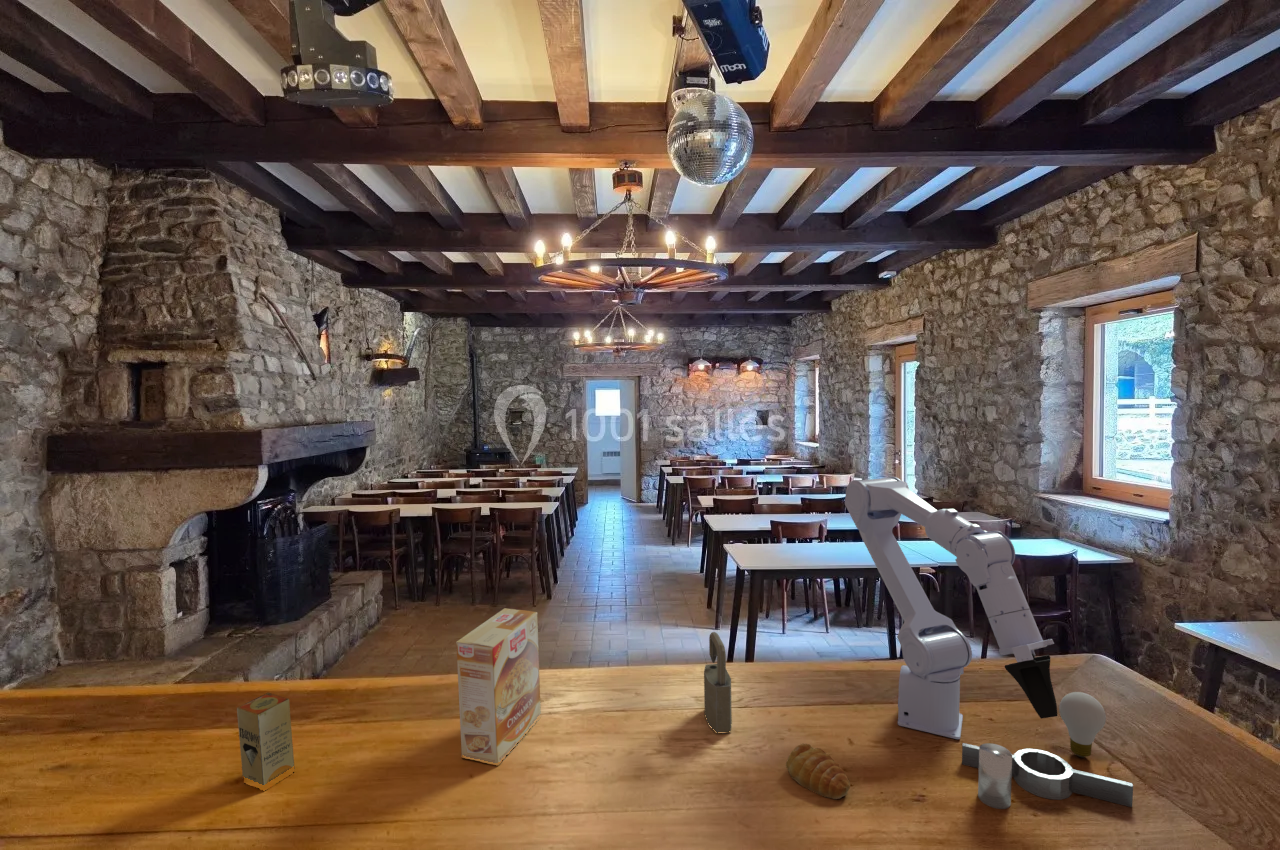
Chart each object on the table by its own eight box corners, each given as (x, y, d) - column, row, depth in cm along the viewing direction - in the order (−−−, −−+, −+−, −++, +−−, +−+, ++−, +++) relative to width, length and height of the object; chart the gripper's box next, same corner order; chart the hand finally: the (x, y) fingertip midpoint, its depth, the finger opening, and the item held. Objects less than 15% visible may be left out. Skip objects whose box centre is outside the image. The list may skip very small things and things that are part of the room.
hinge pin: (977, 803, 89) (978, 755, 89) (978, 786, 93) (979, 740, 92) (1010, 812, 87) (1012, 763, 87) (1010, 795, 91) (1012, 748, 90)
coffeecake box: (498, 767, 100) (493, 646, 98) (459, 759, 102) (453, 641, 101) (543, 717, 114) (539, 610, 112) (508, 711, 116) (503, 606, 115)
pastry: (861, 791, 93) (861, 766, 92) (829, 809, 89) (829, 783, 89) (812, 758, 101) (811, 735, 100) (780, 774, 97) (780, 750, 97)
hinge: (960, 775, 95) (961, 756, 95) (963, 750, 101) (963, 732, 101) (1136, 821, 85) (1137, 800, 85) (1127, 790, 91) (1128, 770, 91)
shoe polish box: (274, 764, 102) (268, 692, 101) (294, 772, 100) (288, 698, 99) (243, 783, 98) (236, 707, 97) (264, 791, 96) (257, 714, 94)
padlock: (723, 707, 116) (722, 626, 115) (735, 732, 108) (734, 646, 106) (701, 709, 115) (700, 628, 114) (712, 734, 107) (710, 648, 106)
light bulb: (1111, 770, 96) (1114, 705, 95) (1067, 766, 97) (1070, 702, 96) (1092, 746, 101) (1095, 686, 101) (1051, 743, 103) (1053, 683, 102)
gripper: (1037, 605, 86) (1084, 715, 81) (1039, 608, 98) (1079, 703, 93) (982, 618, 89) (1023, 724, 84) (990, 619, 101) (1026, 712, 96)
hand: (1049, 714), depth 89 cm, fingers open, 7 cm apart
